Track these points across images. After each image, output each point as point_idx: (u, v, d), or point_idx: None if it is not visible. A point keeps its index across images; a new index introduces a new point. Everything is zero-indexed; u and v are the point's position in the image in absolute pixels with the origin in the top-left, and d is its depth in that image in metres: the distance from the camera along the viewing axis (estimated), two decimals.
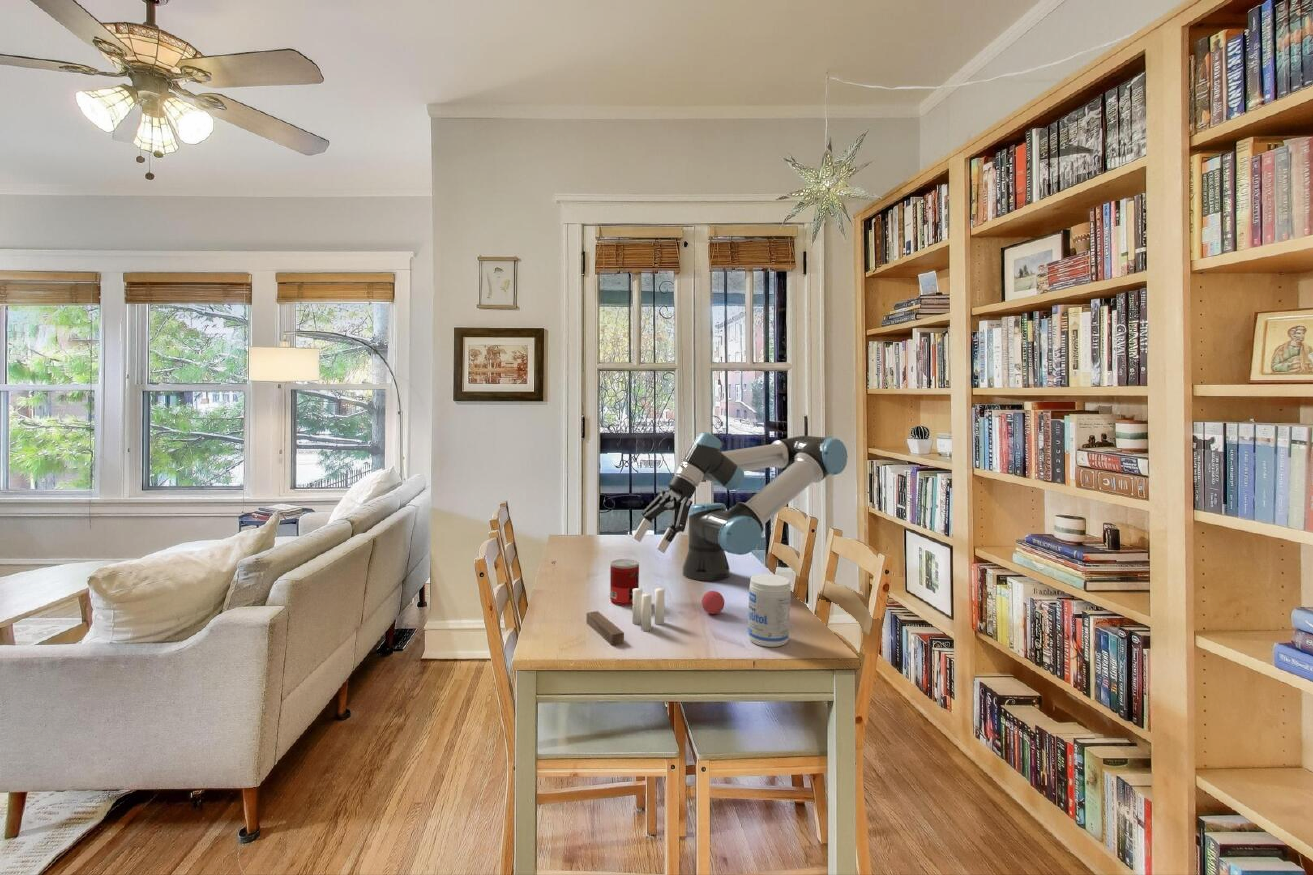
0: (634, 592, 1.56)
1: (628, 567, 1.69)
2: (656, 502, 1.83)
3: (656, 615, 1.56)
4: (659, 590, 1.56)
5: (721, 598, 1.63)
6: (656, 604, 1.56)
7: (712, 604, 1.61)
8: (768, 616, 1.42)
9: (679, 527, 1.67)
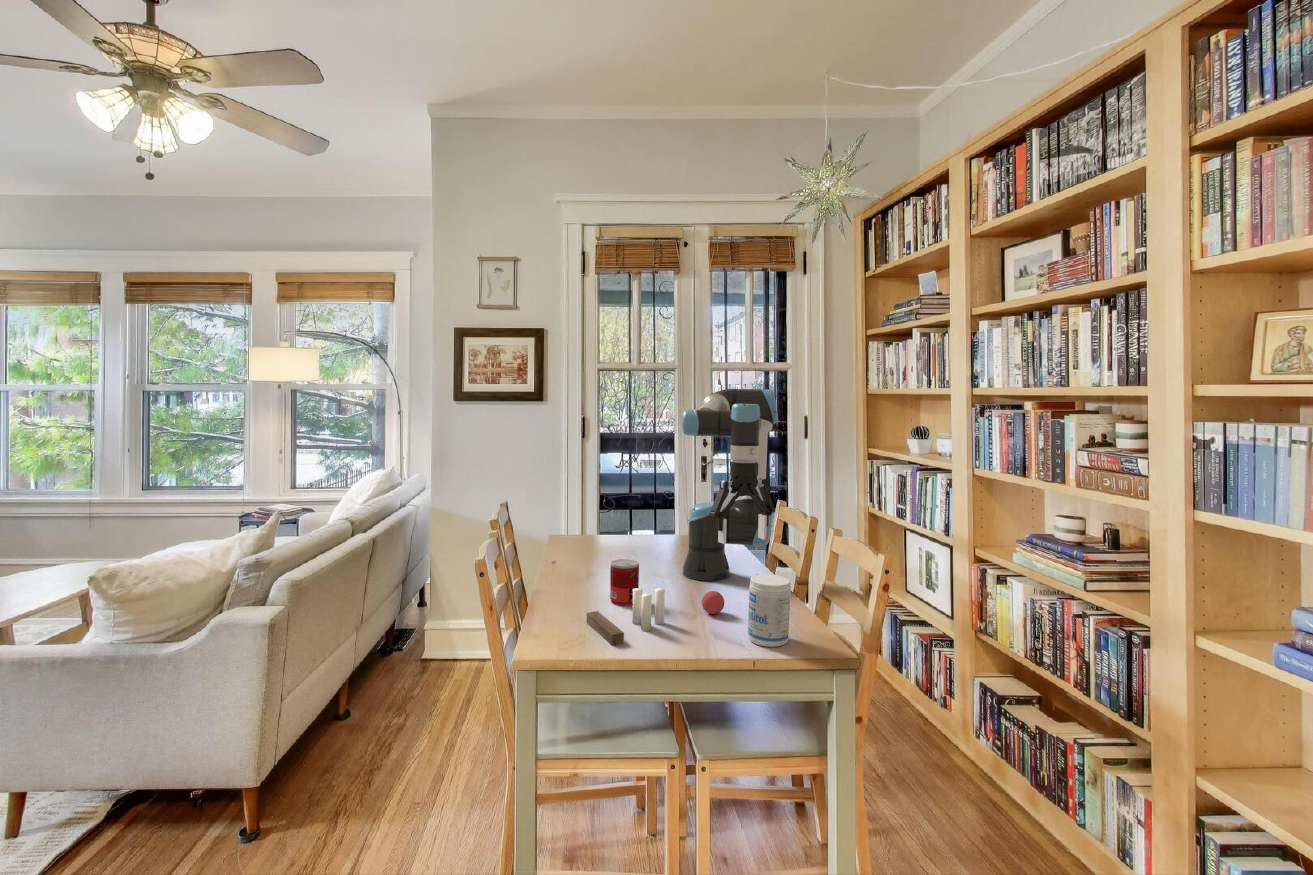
0: (634, 592, 1.56)
1: (628, 567, 1.69)
2: None
3: (656, 615, 1.56)
4: (659, 590, 1.56)
5: (721, 598, 1.63)
6: (656, 604, 1.56)
7: (712, 604, 1.61)
8: (768, 616, 1.42)
9: None
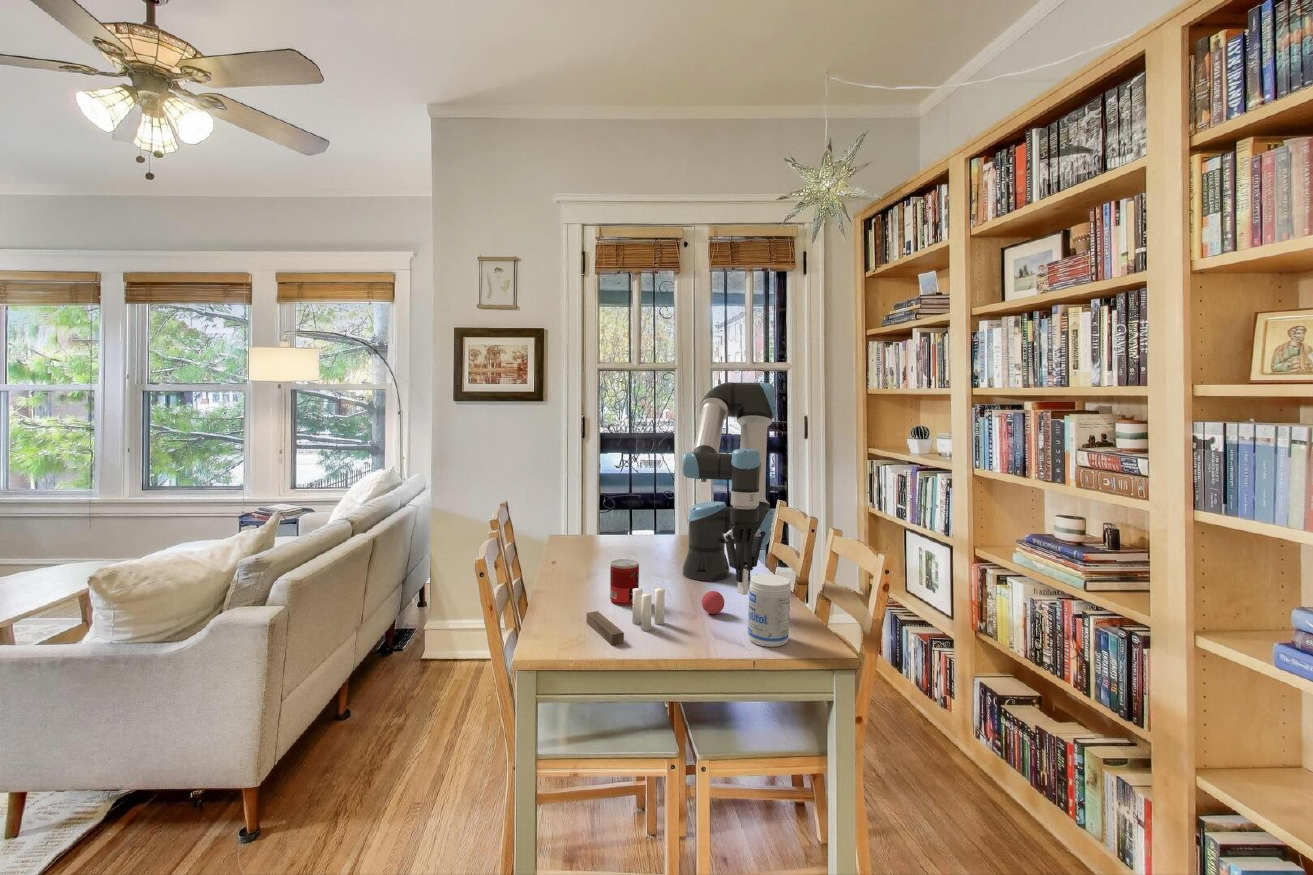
0: (634, 592, 1.56)
1: (628, 567, 1.69)
2: None
3: (656, 615, 1.56)
4: (659, 590, 1.56)
5: (721, 598, 1.63)
6: (656, 604, 1.56)
7: (712, 604, 1.61)
8: (768, 616, 1.42)
9: None
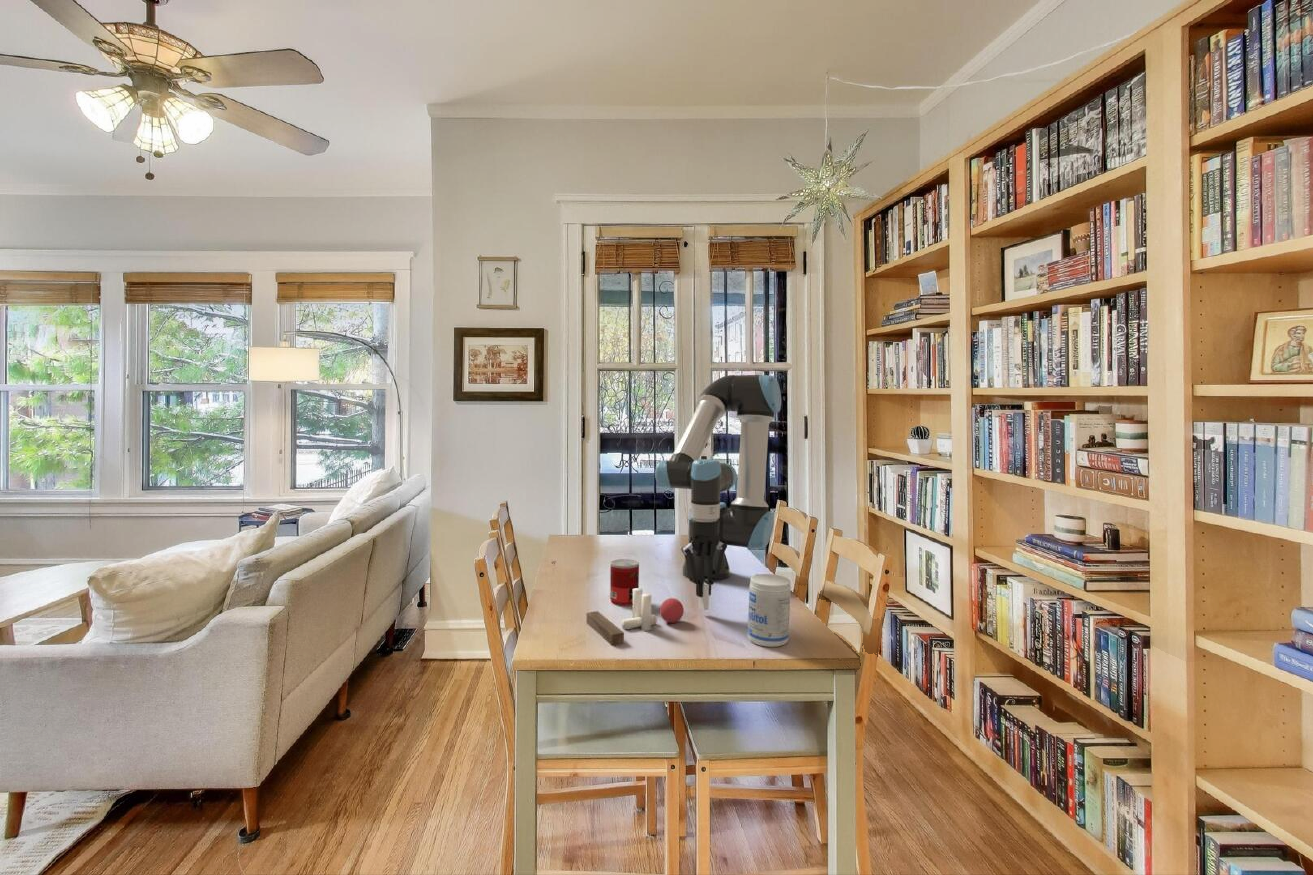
0: (634, 592, 1.56)
1: (628, 567, 1.69)
2: None
3: None
4: (624, 626, 1.52)
5: (676, 620, 1.56)
6: None
7: (681, 609, 1.56)
8: (768, 616, 1.42)
9: None
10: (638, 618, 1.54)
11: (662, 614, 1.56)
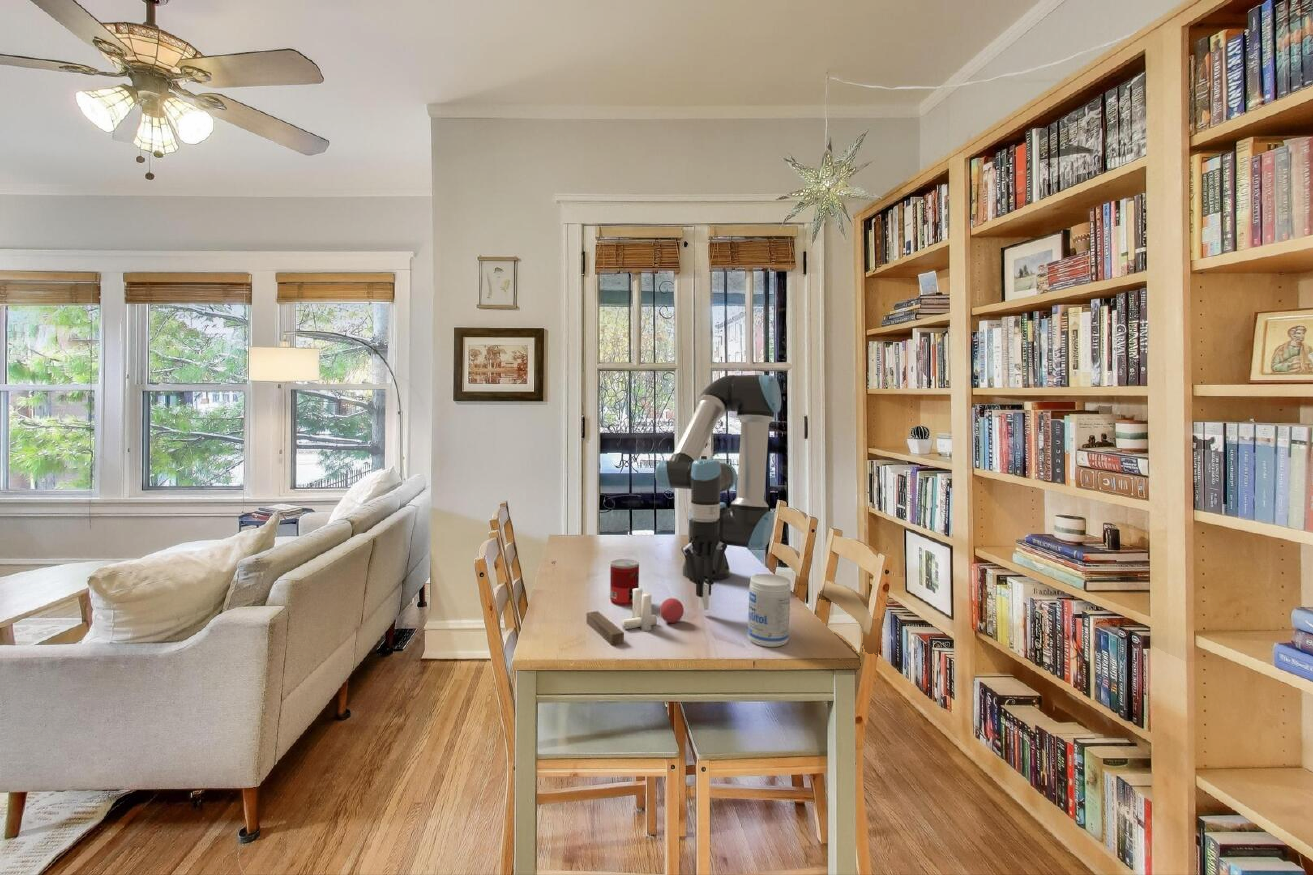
0: (634, 592, 1.56)
1: (628, 567, 1.69)
2: None
3: None
4: (624, 626, 1.52)
5: (676, 620, 1.56)
6: None
7: (681, 609, 1.56)
8: (768, 616, 1.42)
9: None
10: (639, 619, 1.54)
11: (662, 614, 1.56)
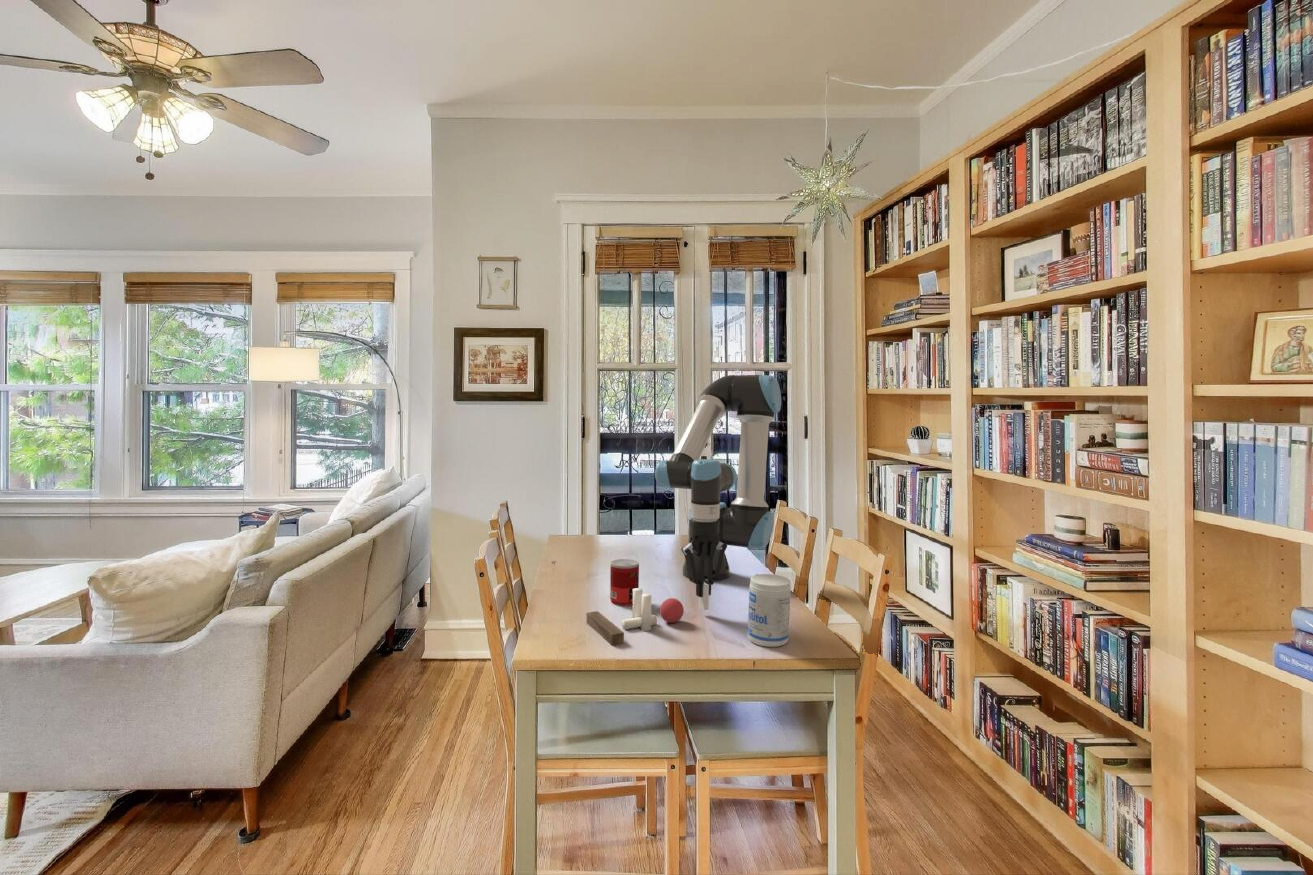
0: (634, 592, 1.56)
1: (628, 567, 1.69)
2: None
3: None
4: (624, 626, 1.52)
5: (676, 620, 1.56)
6: None
7: (681, 609, 1.56)
8: (768, 616, 1.42)
9: None
10: (639, 619, 1.54)
11: (662, 614, 1.56)
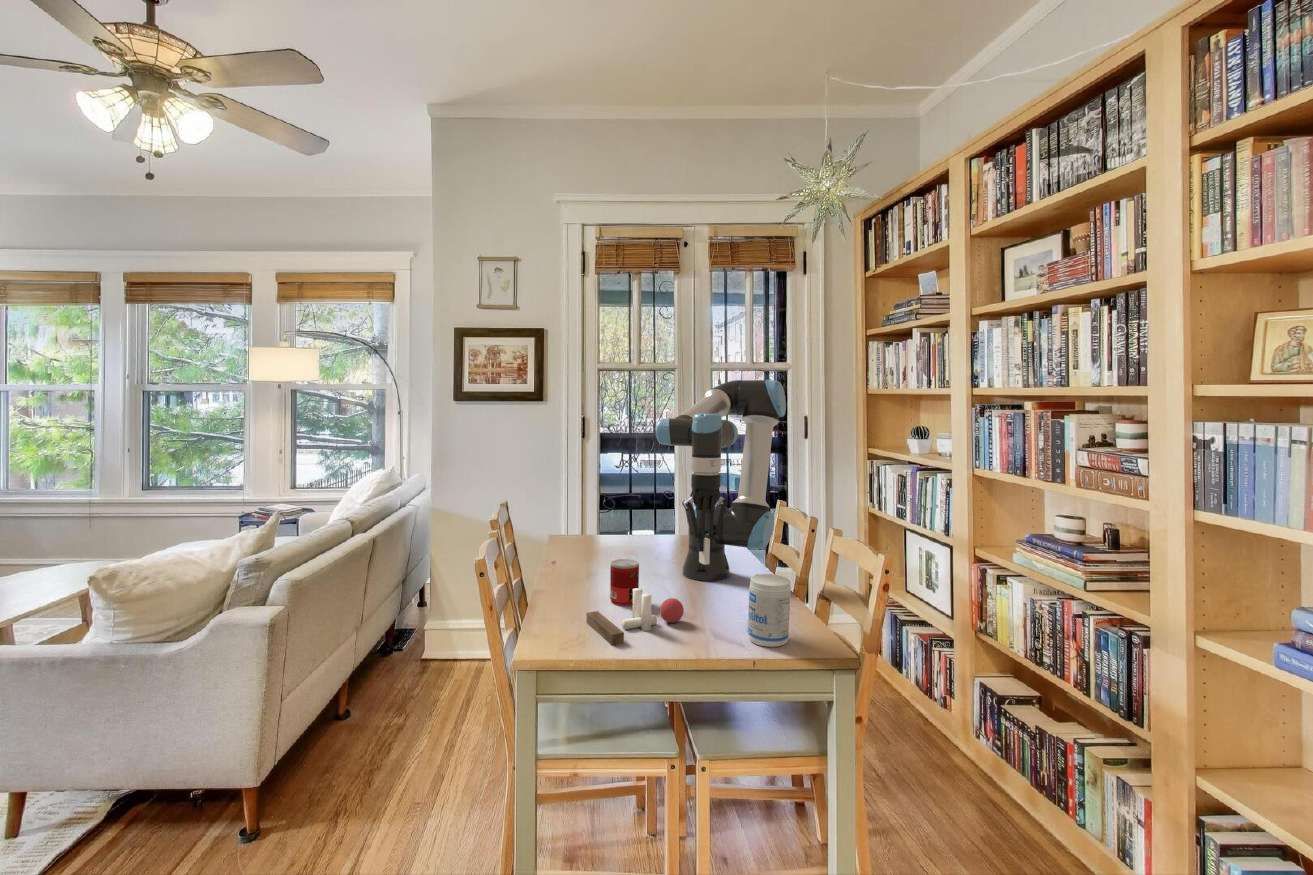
0: (634, 592, 1.56)
1: (628, 567, 1.69)
2: None
3: None
4: (624, 626, 1.52)
5: (676, 620, 1.56)
6: None
7: (681, 609, 1.56)
8: (768, 616, 1.42)
9: None
10: (639, 619, 1.54)
11: (662, 614, 1.56)
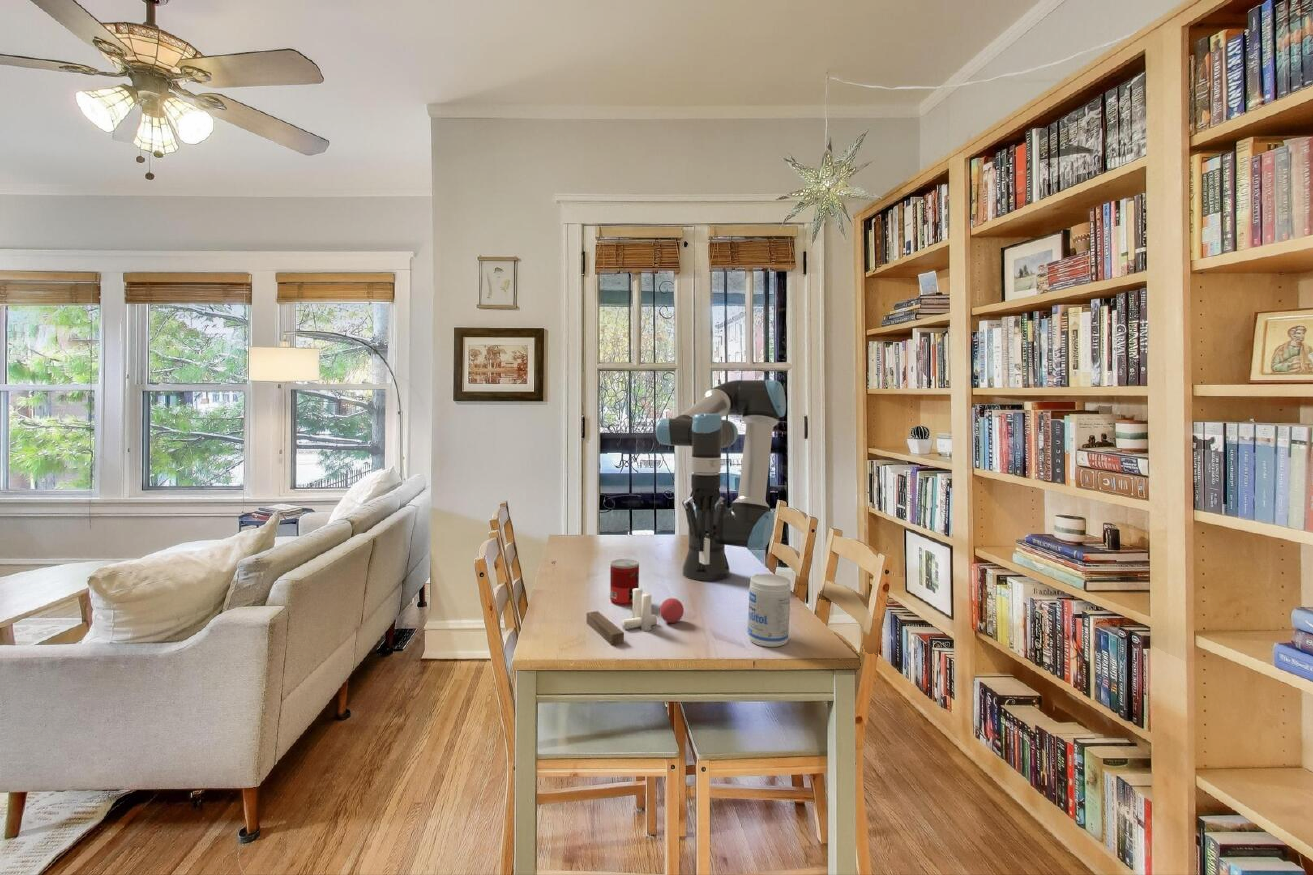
0: (634, 592, 1.56)
1: (628, 567, 1.69)
2: None
3: None
4: (624, 626, 1.52)
5: (676, 620, 1.56)
6: None
7: (681, 609, 1.56)
8: (768, 616, 1.42)
9: None
10: (639, 619, 1.54)
11: (662, 614, 1.56)
